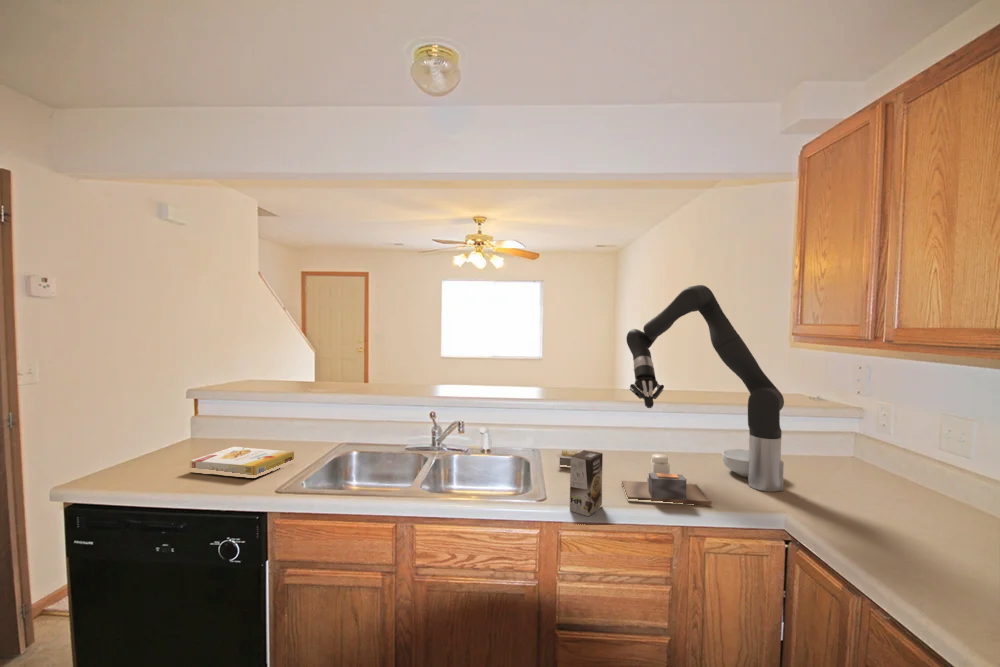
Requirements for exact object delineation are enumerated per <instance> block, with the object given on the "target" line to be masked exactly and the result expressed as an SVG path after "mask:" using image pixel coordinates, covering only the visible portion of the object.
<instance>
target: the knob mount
mask: <svg viewBox="0 0 1000 667" xmlns="http://www.w3.org/2000/svg"><path fill="white" fill-rule="evenodd" d="M646 479H647V480H646V481H635V480H633V481H632V480H631V481H630V480H621V485H622V484H623V487H624V489H625V492H626V495H627V497H628V499H638V500H651V501H663V502H673V503H683V504H694V505H693V506H698V505H707V506H706V507H711V506H712V505H711V503H712V502H711V500H710V499H709V497H708V496H707V495H706V493H704V492H703V490H702V489H701V488H700V487H699V486H698V484H697V483H696V484H695V483H692V484H691V483H687V479H686V478H685V476H684V475H683V474H678V473H669V474H664V473H650V472H649V473H648V477H647V478H646ZM623 487H622V488H623ZM625 492H624V493H625ZM626 495H625V496H626Z"/></svg>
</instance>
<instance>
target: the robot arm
mask: <svg viewBox="0 0 1000 667" xmlns="http://www.w3.org/2000/svg"><path fill="white" fill-rule="evenodd" d="M720 305H721V304H719V302H718V300H717V299H716V296H715V294H714V292H713V291H712V290H711V289H710V288H709V287H708V286H706V285H704V284H697V285H692V286H688V287H685V288H683V289H682V291H681V292H679V294H678V295H677V296H676V297H675V298H674V299H673V300H672V301H671V303H669V304H668V305H667V306H666V307H665V308H664V309H663V310H662V311H661V312H660V313H658V314H657V315H656V316H654V317H653V318H651V319H650V320H649V321H647V322H646V323H645V324H644V326H643V331H641V330H640V329H637V328H632V329H630V330H629V331H628V332H627V334H626V338H625V339H626V344H627V346H628V349H629V350H630V353H631V354H632V360H633V371H634V372H633V373H634V379H635V381H634V383H631V384H630V385H629V390H630V391H631V393H633V394H634V395H635V396H636V397H637V398H638V399H640V400H641V399H643V400H644V406H645V407H646V408H647V409H652V408H653V407H654V400H657V398H658V397H659V396H660V395H661V394H662V392H664V388H665V386H664V384H659V382H658V381H657V378H656V374H655V368H654V367H655V366H654V362H653V359H652V354H651V351H650V348H651V347H652V346H653V344H654V343H655V341H656V340H657V338H659V337H660V336H662V335H663V334H664V333H665V332H667V331H668V330H670V328H671V327H672V326H673V325H674V323H675V322H676V321H678V320H679V319H680V318H682V317H684V316H685V315H688V314H689V313H690V314H691V313H692V312H694V313H695V312H699V313H700V314H701V316H702V318H703V319H704V320H705V322H706V323H707V326H708V330H709V336H710V341H711V345H712V347H713V349H714V350H715V352H716V353H717V355H718V356H719V358H720V359H721V361H722V362H723V364H725V365H726V366H727V368H728V369H730V370H731V371H732V372H733V373H734V374H735V375H736V376H737V377H738V378H739V379H740V380H741V381H742V382H743V384H744V385H745V387H746V388H747V391H748V392H749V394H750V395H749V396H748V401H747V426H748V429H749V430H748V431H749V436H748V438H749V439H748V444H749V446H748V450H749V475H748V477H747V478H748V479H747V480H748V481H747V482H748V483H747V484H748V486H749V487H750V488H752V489H755V490H758V491H764V492H771V493H774V492H779V491H784V469H785V468H784V461H783V460H782V429H781V424H780V422H781V421H780V419H781V418H780V416H781V415H780V414H781V412H780V411H781V410H782V409H783V407H784V405H785V400H784V396H783V394H782V392H781V391H780V390H779V389H778V388H777V386H775V384H774V383H773V382H772V381H771V380H770V378H769V377H768V376H767V375H766V373H764V371H763V370H762V368H761V366H760V365H759V363H758V361H757V359H756V358H755V357H754V356H753V354H752V352H751V351H750V349H749V347H748V345H747V344H746V343H745V341H744V340H743V339H742V337H741V336H740V334H739V333H738V331H737V330H736V329H735V328H734V326H733V324H732V323H731V321H730V319H728V317H727V316H726V313H724V311H723V310H722V308H721V306H720ZM654 390H656V391H655V392H654Z"/></svg>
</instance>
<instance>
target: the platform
mask: <svg viewBox="0 0 1000 667" xmlns="http://www.w3.org/2000/svg"><path fill="white" fill-rule="evenodd" d="M577 453H579V452H578V451H575V450H567V449H566V450H565V449H563V450H562V451H561V453H558V454H556V458H559V466H560V465H567V466H571V456H573V455H575V454H577Z"/></svg>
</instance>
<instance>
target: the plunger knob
mask: <svg viewBox="0 0 1000 667" xmlns="http://www.w3.org/2000/svg"><path fill="white" fill-rule="evenodd" d="M649 461H650V468H649V469H650V472H649V473H664V474H670V464H669V456H668V455H666V454H663V453H662V454H660V453H653V454H652V455H651V459H650V460H649Z"/></svg>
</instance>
